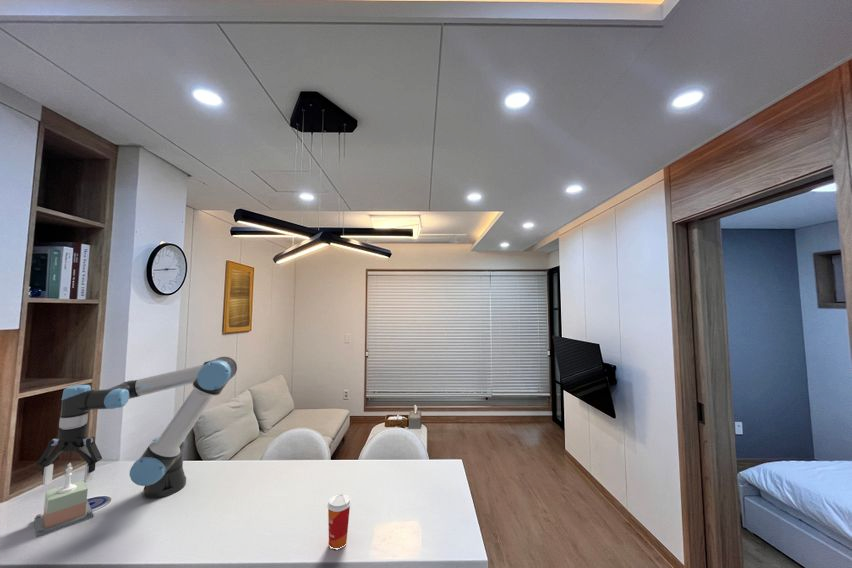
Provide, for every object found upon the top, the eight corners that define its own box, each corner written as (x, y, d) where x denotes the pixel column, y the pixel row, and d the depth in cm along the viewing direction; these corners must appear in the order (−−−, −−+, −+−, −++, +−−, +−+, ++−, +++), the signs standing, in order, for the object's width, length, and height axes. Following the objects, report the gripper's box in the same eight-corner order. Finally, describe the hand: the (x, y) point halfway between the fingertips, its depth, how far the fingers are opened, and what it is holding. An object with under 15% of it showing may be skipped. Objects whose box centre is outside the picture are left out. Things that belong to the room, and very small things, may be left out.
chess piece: (63, 494, 121) (66, 467, 121) (53, 492, 122) (56, 465, 122) (79, 487, 125) (82, 461, 126) (70, 485, 126) (73, 459, 127)
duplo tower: (87, 503, 132) (89, 476, 133) (93, 517, 124) (95, 488, 125) (34, 521, 121) (37, 491, 122) (36, 537, 113) (40, 505, 114)
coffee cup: (328, 536, 116) (330, 493, 118) (351, 535, 117) (352, 492, 118) (323, 553, 108) (324, 507, 109) (347, 552, 109) (349, 507, 110)
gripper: (117, 421, 131) (112, 474, 129) (45, 423, 127) (39, 479, 125) (101, 428, 124) (96, 485, 122) (25, 431, 120) (18, 489, 118)
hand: (67, 482), depth 124 cm, fingers open, 13 cm apart
